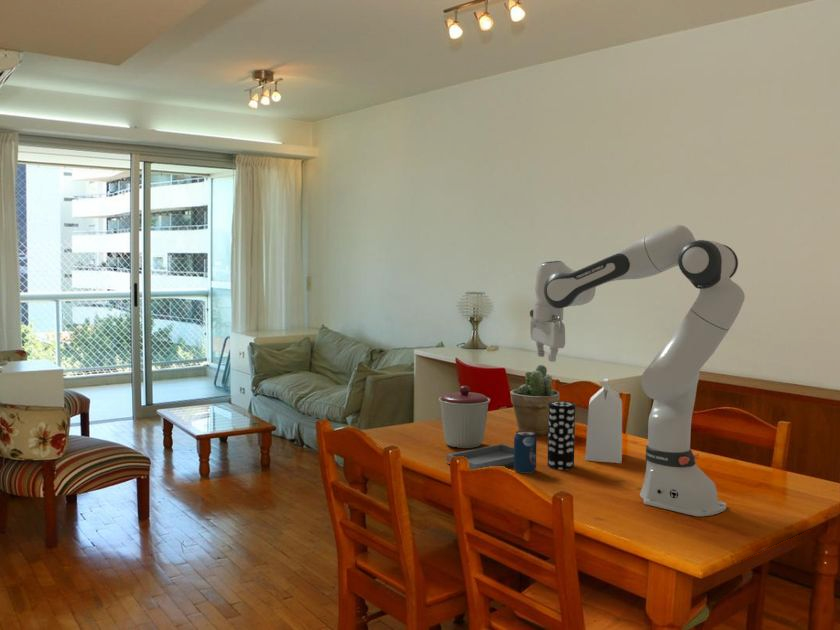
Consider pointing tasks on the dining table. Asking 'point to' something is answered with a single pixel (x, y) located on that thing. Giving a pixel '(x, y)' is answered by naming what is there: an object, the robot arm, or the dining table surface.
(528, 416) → the potted plant
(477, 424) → the canister
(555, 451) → the white-spotted black cylinder
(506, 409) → the dining table surface
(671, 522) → the dining table surface
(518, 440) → the soda can
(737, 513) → the dining table surface
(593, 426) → the milk
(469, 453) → the tray
